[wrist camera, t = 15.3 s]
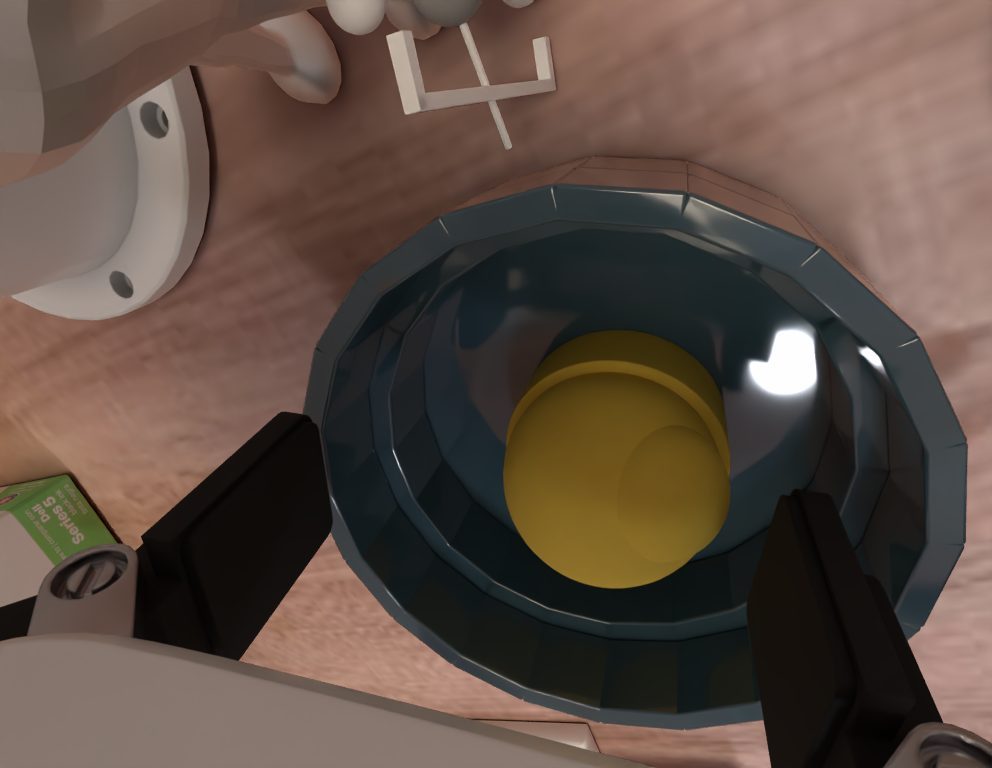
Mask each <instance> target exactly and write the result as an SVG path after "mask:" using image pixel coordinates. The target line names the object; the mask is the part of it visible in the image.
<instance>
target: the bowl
mask: <svg viewBox="0 0 992 768" xmlns="http://www.w3.org/2000/svg"><path fill="white" fill-rule="evenodd" d="M606 330H631V331H637V332H643V333H648V334H651V335H654V336H657V337H660V338H663V339H665V340H667V341H669V342H672V343H674V344H675V345H677V346H679V347H680V348H682V349H684V350H685V351H687V352H688V353H689V354H690V355H692V356H693V357H694V358H695V359H697V360H698V362H699V363H700V364H701V365H702V366H703V367H704V368H705V369H706V370H707V372H708V373H709V374H710V376H711V377H712V378H713V380H714V382H715V384H716V386H717V387H718V389H719V391H720V394H721V397H722V400H723V403H724V408H725V414H726V422H727V430H728V439H729V447H730V460H731V469H730V475H729V482H730V505H729V510H728V514H727V517H726V520H725V522H724V524H723V526H722V528H721V529H720V531H719V533H718V534H717V535H716V537H715V538H714V539H713V540H712V541H711V542H710V543H709V544H708V545H707V546H706V547H705V548H703V549H702V550H700V551H699V552H697V553H696V554H695V555H694V556H693V557H692V558H691V559H690V560H689V561H688V562H686V563H685V564H684V565H683V566H682V567H680V568H679V569H677V570H676V571H674V572H673V573H671V574H669V575H668V576H666V577H664V578H662V579H660V580H657V581H654V582H652V583H649V584H645V585H640V586H636V587H629V588H602V587H596V586H591V585H588V584H584V583H581V582H578V581H575V580H573V579H570V578H568V577H566V576H564V575H562V574H561V573H559V572H557V571H556V570H554V569H553V568H551V567H550V566H549V565H547V564H546V563H545V562H544V561H543V560H541V559H540V558H539V557H538V556H537V555H536V554H535V553H534V552H533V551H532V550H531V549H530V547H529V546H528V545H527V544H526V542H525V541H524V539H523V538H522V536H521V535H520V533H519V532H518V530H517V528H516V526H515V524H514V522H513V520H512V518H511V515H510V512H509V509H508V506H507V503H506V498H505V493H504V483H503V468H504V460H505V453H506V439H507V430H508V426H509V423H510V419H511V417H512V414H513V412H514V410H515V408H516V406H517V404H518V402H519V400H520V398H521V397H522V395H523V393H524V391H525V389H526V387H527V385H528V384H529V382H530V380H531V378H532V376H533V374H534V373H535V371H536V370H537V368H538V367H539V365H540V364H541V363H542V362H543V361H544V360H545V358H546V357H547V356H549V355H550V354H551V353H552V352H553V351H554V350H556V349H557V348H559V347H560V346H562V345H563V344H565V343H566V342H569V341H571V340H573V339H575V338H577V337H580V336H583V335H586V334H589V333H594V332H599V331H606ZM303 414H304V415H308V416H310V418H311V419H312V422H313V423H316V424H317V426H318V428H319V434H320V440H321V446H322V453H323V459H324V465H325V472H326V478H327V484H328V490H329V497H330V503H331V509H332V516H333V524H332V528H331V531H330V532H331V534H332V536H333V538H334V540H335V543H336V545H337V547H338V549H339V551H340V553H341V555H342V557H343V559H344V560H346V563H347V565H348V566H349V567H350V568H351V569H352V571H353V572H354V573H355V574H356V575H357V577H358V578H359V579H360V580H361V581H362V583H363V584H364V585H365V586H366V587H367V589H368V590H369V591H370V592H371V593H372V595H373V596H374V597H375V598H376V599H377V601H378V602H379V603H380V604H381V605H382V607H383V608H384V609H385V610H386V611H387V613H388V614H389V615H390V616H391V617H393V619H394V620H395V621H396V622H398V623H399V624H400V625H402V626H403V627H404V628H405V629H407V630H408V631H409V632H411V633H412V634H413V635H414V636H416V637H417V638H418V639H419V640H421V641H422V642H423V643H425V644H426V645H427V646H428V647H430V648H431V649H432V650H434V651H435V652H436V653H437V654H439V655H440V656H441V657H442V658H444V659H445V660H446V661H448V662H449V663H450V664H453V665H454V666H455V667H457V668H459V669H461V670H463V671H465V672H467V673H469V674H471V675H473V676H475V677H477V678H479V679H481V680H483V681H485V682H486V683H488V684H490V685H492V686H494V687H496V688H498V689H500V690H502V691H504V692H506V693H508V694H510V695H512V696H514V697H516V698H518V699H520V700H522V699H523V701H525V702H528V703H532V704H535V705H539V706H542V707H546V708H549V709H553V710H556V711H560V712H563V713H567V714H570V715H574V716H577V717H580V718H584V719H587V720H591V721H594V722H598V723H599V722H602V723H603V724H615V725H626V726H638V727H649V728H661V729H673V730H684V729H685V730H693V729H700V728H708V727H716V726H724V725H731V724H739V723H747V722H754V721H762V720H764V719H763V713H762V707H761V701H760V695H759V689H758V683H757V677H756V670H755V664H754V658H753V652H752V646H751V640H750V634H749V628H748V622H747V613H746V608H747V599H748V595H749V592H750V589H751V586H752V582H753V579H754V576H755V573H756V570H757V566H758V563H759V560H760V557H761V554H762V550H763V547H764V544H765V541H766V538H767V535H768V531H769V528H770V525H771V522H772V519H773V515H774V512H775V509H776V506H777V503H778V500H779V497H780V496H781V495H788V496H790V494H791V492H792V491H793V490H794V489H801V490H808V491H815V492H821V493H828V494H830V495H831V497H832V498H833V501H834V503H835V506H836V508H837V511H838V513H839V515H840V518H841V520H842V523H843V525H844V527H845V530H846V532H847V535H848V537H849V540H850V542H851V544H852V547H853V549H854V552H855V554H856V557H857V559H858V561H859V564H860V566H861V569H862V571H863V574H866V575H872V576H875V577H876V578H877V579H879V580H880V582H881V584H882V585H883V587H884V589H885V592H886V594H887V596H888V598H889V601H890V603H891V605H892V607H893V610H894V612H895V614H896V616H897V619H898V621H899V623H900V626H901V628H902V630H903V632H904V635H905V637H906V639H907V641H908V640H909V639H910V638H911V637H912V636H914V635H915V634H916V633H917V632H918V631H920V629H921V627H923V626H924V624H925V622H926V620H927V619H928V617H929V615H930V613H931V611H932V609H933V607H934V605H935V603H936V601H937V599H938V597H939V595H940V593H941V592H942V590H943V588H944V586H945V584H946V582H947V580H948V578H949V576H950V574H951V572H952V570H953V568H954V567H955V565H956V563H957V561H958V559H959V557H960V555H961V553H962V551H963V549H964V544H965V542H966V505H967V458H968V444H967V443H966V442H967V438H966V435H965V433H964V431H963V429H962V427H961V425H960V422H959V420H958V418H957V416H956V414H955V412H954V409H953V407H952V405H951V403H950V401H949V399H948V397H947V394H946V392H945V390H944V388H943V386H942V384H941V381H940V379H939V377H938V375H937V373H936V371H935V368H934V366H933V364H932V362H931V360H930V358H929V355H928V353H927V351H926V349H925V347H924V345H923V342H922V340H921V338H920V337H919V336H918V335H917V333H916V331H915V330H914V329H913V328H912V327H911V326H910V325H909V324H908V323H907V322H906V321H905V320H904V319H903V317H902V316H901V315H900V314H899V313H898V312H897V311H896V310H895V309H894V308H893V307H892V306H891V305H890V304H889V303H888V301H887V300H886V299H885V298H884V297H883V296H882V295H881V294H880V293H879V292H878V291H877V290H876V289H875V288H874V287H873V286H872V285H871V283H870V282H869V281H868V280H867V279H866V278H865V277H864V276H863V275H862V274H861V273H860V272H859V271H858V270H857V269H856V267H855V266H854V265H853V264H852V263H851V262H850V261H849V260H848V259H847V258H846V257H845V256H843V255H842V254H841V253H840V252H839V251H838V250H837V249H836V248H835V247H834V246H833V245H831V244H830V243H829V242H828V241H827V240H826V239H825V238H824V237H823V236H822V235H820V234H819V233H818V232H817V231H816V230H815V229H814V228H813V227H812V226H811V225H809V224H808V223H807V222H806V221H805V220H804V219H803V218H802V217H801V216H800V215H798V214H797V213H796V212H795V211H794V210H793V209H792V208H791V207H790V206H789V205H787V204H786V203H785V202H784V201H783V200H781V199H779V198H778V197H777V196H774V195H772V194H769V193H767V192H764V191H762V190H759V189H757V188H755V187H752V186H750V185H747V184H745V183H742V182H740V181H737V180H735V179H732V178H730V177H727V176H725V175H722V174H720V173H717V172H715V171H712V170H710V169H708V168H705V167H703V166H700V165H698V164H695V163H693V162H688V163H687V162H685V161H679V160H659V159H639V158H619V157H599V156H595V157H593V158H592V157H587V158H583V159H580V160H576V161H573V162H569V163H566V164H563V165H559V166H556V167H552V168H549V169H545V170H542V171H538V172H535V173H531V174H528V175H525V176H521V177H518V178H514V179H511V180H508V181H506V182H504V183H502V184H500V185H498V186H496V187H494V188H492V189H490V190H488V191H486V192H484V193H482V194H481V195H479V196H477V197H475V198H473V199H471V200H469V201H467V202H465V203H463V204H461V205H459V206H457V207H455V208H453V209H451V210H449V211H447V212H445V213H443V214H441V215H439V216H438V217H436V218H435V219H433V220H432V221H431V222H429V223H428V224H427V225H425V226H424V227H422V228H421V229H420V230H418V231H417V232H416V233H414V234H413V235H412V236H410V237H409V238H407V239H406V240H405V241H403V242H402V243H401V244H399V245H398V246H396V247H395V248H394V249H392V250H391V251H390V252H388V253H387V254H386V255H384V256H383V257H381V258H380V259H379V260H377V261H376V262H375V263H373V264H372V265H370V266H369V267H368V268H366V269H365V270H364V271H363V272H362V274H361V275H359V276H358V278H357V279H356V281H355V282H354V284H353V286H352V287H351V289H350V290H349V292H348V294H347V295H346V297H345V298H344V300H343V302H342V303H341V305H340V306H339V308H338V310H337V311H336V313H335V314H334V316H333V318H332V319H331V321H330V322H329V324H328V326H327V327H326V329H325V330H324V332H323V334H322V335H321V337H320V338H319V340H318V342H317V344H316V347H315V349H314V354H313V359H312V365H311V370H310V376H309V381H308V387H307V392H306V398H305V403H304V409H303Z"/></svg>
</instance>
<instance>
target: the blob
mask: <svg viewBox="0 0 992 768" xmlns="http://www.w3.org/2000/svg"><path fill="white" fill-rule="evenodd" d="M730 469H731V460H730V447H729V439H728V430H727V422H726V414H725V408H724V403H723V400H722V397H721V394H720V391H719V389H718V387H717V386H716V384H715V382H714V380H713V378H712V377H711V376H710V374H709V373H708V372H707V370H706V369H705V368H704V367H703V366H702V365H701V364H700V363H699V362H698V360H697V359H695V358H694V357H693V356H692V355H690V354H689V353H688V352H687V351H685V350H684V349H682V348H680V347H679V346H677V345H675V344H674V343H672V342H669V341H667V340H665V339H663V338H660V337H657V336H654V335H651V334H648V333H643V332H637V331H631V330H606V331H599V332H594V333H589V334H586V335H583V336H580V337H577V338H575V339H573V340H571V341H569V342H566V343H565V344H563V345H562V346H560V347H559V348H557V349H556V350H554V351H553V352H552V353H551V354H550V355H549V356H547V357H546V358H545V360H544V361H543V362H542V363H541V364H540V365H539V367H538V368H537V370H536V371H535V373H534V374H533V376H532V378H531V380H530V382H529V384H528V385H527V387H526V389H525V391H524V393H523V395H522V397H521V398H520V400H519V402H518V404H517V406H516V408H515V410H514V412H513V414H512V417H511V419H510V423H509V426H508V430H507V439H506V453H505V460H504V468H503V483H504V493H505V498H506V503H507V506H508V509H509V512H510V515H511V518H512V520H513V522H514V524H515V526H516V528H517V530H518V532H519V533H520V535H521V536H522V538H523V539H524V541H525V542H526V544H527V545H528V546H529V547H530V549H531V550H532V551H533V552H534V553H535V554H536V555H537V556H538V557H539V558H540V559H541V560H543V561H544V562H545V563H546V564H547V565H549V566H550V567H551V568H553V569H554V570H556V571H557V572H559V573H561V574H562V575H564V576H566V577H568V578H570V579H573V580H575V581H578V582H581V583H584V584H588V585H591V586H596V587H602V588H629V587H636V586H640V585H645V584H649V583H652V582H654V581H657V580H660V579H662V578H664V577H666V576H668V575H669V574H671V573H673V572H674V571H676V570H677V569H679V568H680V567H682V566H683V565H684V564H685V563H686V562H688V561H689V560H690V559H691V558H692V557H693V556H694V555H695V554H696V553H697V552H699V551H700V550H702V549H703V548H705V547H706V546H707V545H708V544H709V543H710V542H711V541H712V540H713V539H714V538H715V537H716V535H717V534H718V533H719V531H720V529H721V528H722V526H723V524H724V522H725V520H726V517H727V514H728V510H729V505H730V482H729V475H730Z"/></svg>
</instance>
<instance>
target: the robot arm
mask: <svg viewBox="0 0 992 768" xmlns="http://www.w3.org/2000/svg"><path fill="white" fill-rule="evenodd" d="M209 197H210V193H209V150H208V144H207V138H206V132H205V126H204V119H203V113H202V107H201V104H200V101H199V97H198V94H197V91H196V87H195V84H194V81H193V78H192V74H191V71H190V68H189V66H187V67H186V68H184V69H183V70H181V71H180V72H178V73H177V74H175V75H174V76H172V77H171V78H170V79H168V80H167V81H165V82H163V83H162V84H160V85H158V86H157V87H155V88H153V89H152V90H150V91H148V92H147V93H145V94H144V95H142V96H141V97H139V98H137V99H136V100H134V101H133V102H131V103H130V104H128V105H127V106H125V107H124V108H122V109H121V110H119V111H118V112H116V113H115V114H113V115H112V116H111V118H110V119H109V120H108V121H107V122H106V123H105V125H104V126H103V127H102V128H101V129H100V131H99V132H98V133H97V134H96V135H95V136H94V138H93V139H92V140H91V141H90V142H89V143H88V144H86V145H85V146H84V147H83V148H82V149H81V150H79V151H78V152H77V153H76V154H75V155H74V156H73V157H71V158H70V159H69V160H68V161H67V162H66V163H64V164H62V165H60V166H57V167H55V168H53V169H51V170H49V171H47V172H44V173H42V174H39V175H36V176H33V177H30V178H27V179H24V180H21V181H18V182H15V183H12V184H9V185H6V186H0V299H2V298H5V297H8V296H10V297H11V298H13V299H15V300H17V301H20V302H22V303H24V304H26V305H29V306H31V307H33V308H35V309H37V310H40V311H42V312H44V313H48V314H52V315H56V316H60V317H64V318H68V319H73V320H103V319H107V318H112V317H116V316H121V315H124V314H127V313H129V312H132V311H134V310H136V309H139V308H141V307H143V306H146V305H148V304H150V303H153V302H155V301H156V300H157V299H159V298H160V297H161V296H163V295H164V294H165V293H167V292H168V291H169V290H170V289H172V288H173V287H174V286H175V285H176V284H177V283H178V281H179V280H180V278H181V277H182V276H183V274H184V273H185V272H186V270H187V269H188V267H189V266H190V265H191V263H192V261H193V258H194V256H195V253H196V251H197V248H198V246H199V243H200V241H201V238H202V236H203V233H204V227H205V221H206V215H207V209H208V203H209ZM332 524H333V516H332V509H331V503H330V497H329V490H328V484H327V478H326V472H325V465H324V459H323V453H322V446H321V440H320V434H319V428H318V426H317V424H316V423H313V422H312V419H311V418H310V416H308V415H304V414H297V413H291V412H280V413H279V414H277V415H276V416H275V417H274V418H273V419H272V420H271V421H270V422H268V423H267V424H266V425H265V426H264V427H263V428H262V429H261V430H260V431H258V432H257V433H256V434H255V435H254V436H253V437H252V438H251V439H249V440H248V441H247V442H246V443H245V444H244V445H243V446H242V447H240V448H239V449H238V450H237V451H236V452H235V453H234V454H233V455H232V456H230V457H229V458H228V459H227V460H226V461H225V462H224V463H223V464H221V465H220V466H219V467H218V468H217V469H216V470H215V471H214V472H213V473H211V474H210V475H209V476H208V477H207V478H206V479H205V480H204V481H202V482H201V483H200V484H199V485H198V486H197V487H196V488H195V489H194V490H192V491H191V492H190V493H189V494H188V495H187V496H186V497H185V498H183V499H182V500H181V501H180V502H179V503H178V504H177V505H176V506H175V507H173V508H172V509H171V510H170V511H169V512H168V513H167V514H166V515H164V516H163V517H162V518H161V519H160V520H159V521H158V522H157V523H156V524H154V525H153V526H152V527H151V528H150V529H149V530H148V531H147V532H145V533H144V534H143V535H142V536H141V538H142V540H143V544H142V545H141V546H140V547H139V548H138V549H137V550H136V551H134V550H133V549H132V548H131V547H130V546H127V545H123V544H110V543H108V544H103V545H97V546H93V547H90V548H87V549H84V550H82V551H79V552H77V553H75V554H73V555H71V556H70V557H68V558H66V559H64V560H63V561H62V562H60V563H59V564H58V565H56V566H55V567H54V568H53V569H52V570H51V571H50V572H49V573H48V574H47V575H46V576H45V577H44V579H43V581H42V583H41V585H40V587H39V591H38V595H35V596H32V597H29V598H26V599H23V600H20V601H17V602H14V603H11V604H8V605H5V606H2V607H0V768H656V767H652V766H648V765H645V764H641V763H637V762H633V761H629V760H625V759H622V758H618V757H614V756H610V755H606V754H602V753H599V752H595V751H591V750H587V749H583V748H579V747H576V746H572V745H568V744H564V743H560V742H556V741H552V740H549V739H545V738H541V737H537V736H533V735H529V734H526V733H522V732H518V731H514V730H510V729H506V728H502V727H499V726H495V725H491V724H487V723H483V722H479V721H475V720H471V719H467V718H463V717H459V716H455V715H452V714H448V713H444V712H440V711H436V710H432V709H428V708H424V707H420V706H416V705H412V704H408V703H404V702H400V701H397V700H393V699H389V698H385V697H381V696H377V695H373V694H369V693H365V692H361V691H357V690H353V689H349V688H345V687H341V686H337V685H333V684H329V683H325V682H321V681H317V680H313V679H309V678H305V677H301V676H297V675H293V674H289V673H285V672H281V671H277V670H273V669H269V668H265V667H261V666H257V665H253V664H249V663H244V662H240V661H239V659H240V658H241V657H242V656H243V654H244V653H245V651H246V650H247V649H248V647H249V646H250V644H251V643H252V642H253V640H254V639H255V637H256V636H257V635H258V633H259V632H260V630H261V629H262V628H263V626H264V625H265V623H266V622H267V621H268V619H269V618H270V616H271V615H272V614H273V612H274V611H275V609H276V608H277V607H278V605H279V604H280V602H281V601H282V600H283V598H284V597H285V595H286V594H287V593H288V591H289V590H290V588H291V587H292V586H293V584H294V583H295V581H296V580H297V579H298V577H299V576H300V574H301V573H302V572H303V570H304V569H305V567H306V566H307V565H308V563H309V562H310V560H311V559H312V558H313V556H314V555H315V553H316V552H317V551H318V549H319V548H320V546H321V545H322V544H323V542H324V541H325V539H326V538H327V537H328V535H329V533H330V531H331V528H332ZM746 613H747V622H748V628H749V634H750V640H751V646H752V652H753V658H754V664H755V670H756V677H757V683H758V689H759V695H760V701H761V707H762V713H763V719H764V725H765V731H766V737H767V743H768V750H769V756H770V762H771V768H992V743H990V742H988V741H987V740H985V739H983V738H982V737H980V736H978V735H977V734H975V733H973V732H971V731H968V730H966V729H963V728H960V727H958V726H955V725H952V724H946V723H943V721H942V719H941V716H940V714H939V712H938V710H937V707H936V705H935V703H934V700H933V698H932V696H931V694H930V691H929V689H928V687H927V685H926V682H925V680H924V678H923V675H922V673H921V671H920V669H919V666H918V664H917V662H916V660H915V657H914V655H913V653H912V651H911V648H910V646H909V644H908V641H907V639H906V637H905V635H904V632H903V630H902V628H901V626H900V623H899V621H898V619H897V616H896V614H895V612H894V610H893V607H892V605H891V603H890V601H889V598H888V596H887V594H886V592H885V589H884V587H883V585H882V584H881V582H880V580H879V579H877V578H876V577H875V576H872V575H866V574H863V571H862V569H861V566H860V564H859V561H858V559H857V557H856V554H855V552H854V549H853V547H852V544H851V542H850V540H849V537H848V535H847V532H846V530H845V527H844V525H843V523H842V520H841V518H840V515H839V513H838V511H837V508H836V506H835V503H834V501H833V498H832V497H831V495H830V494H828V493H821V492H815V491H808V490H801V489H794V490H793V491H792V492H791V494H790V496H788V495H781V496H780V497H779V500H778V503H777V506H776V509H775V512H774V515H773V519H772V522H771V525H770V528H769V531H768V535H767V538H766V541H765V544H764V547H763V550H762V554H761V557H760V560H759V563H758V566H757V570H756V573H755V576H754V579H753V582H752V586H751V589H750V592H749V595H748V599H747V608H746Z"/></svg>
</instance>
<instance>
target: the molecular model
mask: <svg viewBox="0 0 992 768" xmlns="http://www.w3.org/2000/svg"><path fill="white" fill-rule="evenodd" d="M503 1H504V2H505V3H506V4H507V5H509V6H511V7H513V8H523V7H526V6H528V5H530V4H531V3H532V2H533V1H534V0H503ZM482 2H483V0H413V3H414V4H415V6H416V8H417V9H418V11H419V12H420V13H421V14H422V15H423V16H424V17H425V18H426V19H427V20H429V21H430V22H432V23H434V24H436V25H439V26H443V27H455V26H459V27H460V30H461V33H462V35H463V38H464V40H465V43H466V46H467V48H468V51H469V54H470V56H471V59H472V62H473V64H474V67H475V70H476V72H477V75H478V78H479V80H480V83H481V85H482V87H473V88H464V89H455V90H446V91H437V92H428V93H425V89H424V85H423V80H422V76H421V71H420V67H419V62H418V58H417V53H416V49H415V44H414V40H413V35H412V31H405V30H402V31H399V32H396V33H393V34H390V35H387V36H386V38H387V42H388V46H389V50H390V55H391V59H392V63H393V67H394V71H395V75H396V80H397V84H398V88H399V92H400V96H401V100H402V104H403V109H404V113H405V115H408V114H414V113H421V112H427V111H433V110H440V109H446V108H452V107H459V106H465V105H471V104H478V103H484V102H488V104H489V107H490V109H491V112H492V115H493V117H494V120H495V122H496V125H497V128H498V130H499V133H500V136H501V138H502V141H503V144H504V146H505V149H510V148H512V144H511V141H510V138H509V135H508V133H507V130H506V127H505V125H504V122H503V119H502V116H501V114H500V111H499V108H498V106H497V103H496V100H503V99H509V98H515V97H522V96H528V95H534V94H541V93H546V92H550V91H555V90H556V84H555V77H554V70H553V62H552V55H551V48H550V41H549V37H547V36H544V37H541V38H537V39H534V40H532V41H533V48H534V54H535V61H536V68H537V74H538V80H536V81H527V82H518V83H509V84H500V85H491V86H490V84H489V81H488V78H487V76H486V73H485V70H484V67H483V65H482V62H481V59H480V57H479V54H478V51H477V48H476V46H475V43H474V40H473V38H472V35H471V32H470V29H469V27H468V24H467V21H469V20H470V19H471V18H472V17H473V16H474V15H475V14H476V13H477V11H478V10H479V8H480V6H481V5H482ZM326 3H327V7H328V10H329V13H330V15H331V17H332V18H333V20H334V21H335V23H336V24H337V25H338V26H339V27H340V28H342V29H343V30H344V31H346V32H348V33H351V34H354V35H365V34H368V33H370V32H373V31H374V30H375V29H376V28H377V27H378V26H379V25H380V23H381V22H382V20H383V18H384V15H385V9H386V0H326Z"/></svg>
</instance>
